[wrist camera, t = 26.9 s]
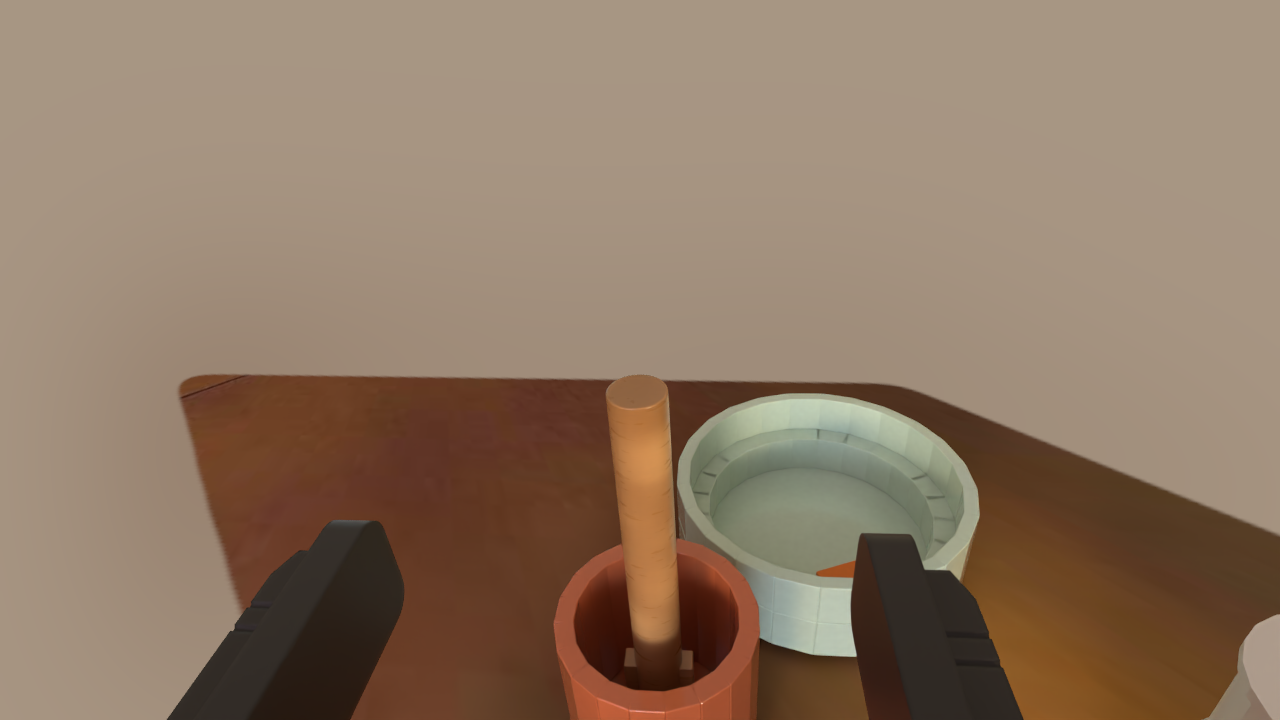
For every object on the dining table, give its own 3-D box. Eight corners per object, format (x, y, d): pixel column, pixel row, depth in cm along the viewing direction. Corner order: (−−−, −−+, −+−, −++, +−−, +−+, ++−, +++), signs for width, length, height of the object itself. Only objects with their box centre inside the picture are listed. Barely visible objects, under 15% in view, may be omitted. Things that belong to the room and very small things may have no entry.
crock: (750, 654, 37) (754, 539, 33) (759, 835, 30) (765, 718, 25) (592, 647, 38) (574, 535, 34) (561, 820, 31) (532, 705, 26)
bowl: (918, 458, 50) (931, 393, 47) (1003, 671, 35) (1030, 595, 32) (685, 456, 52) (683, 392, 49) (673, 655, 38) (669, 583, 34)
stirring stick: (695, 700, 34) (683, 373, 24) (694, 743, 32) (681, 408, 22) (634, 697, 35) (596, 374, 24) (629, 739, 33) (586, 408, 23)
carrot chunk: (855, 574, 41) (857, 558, 40) (881, 611, 38) (884, 594, 38) (814, 586, 40) (815, 571, 39) (838, 624, 38) (840, 608, 37)
